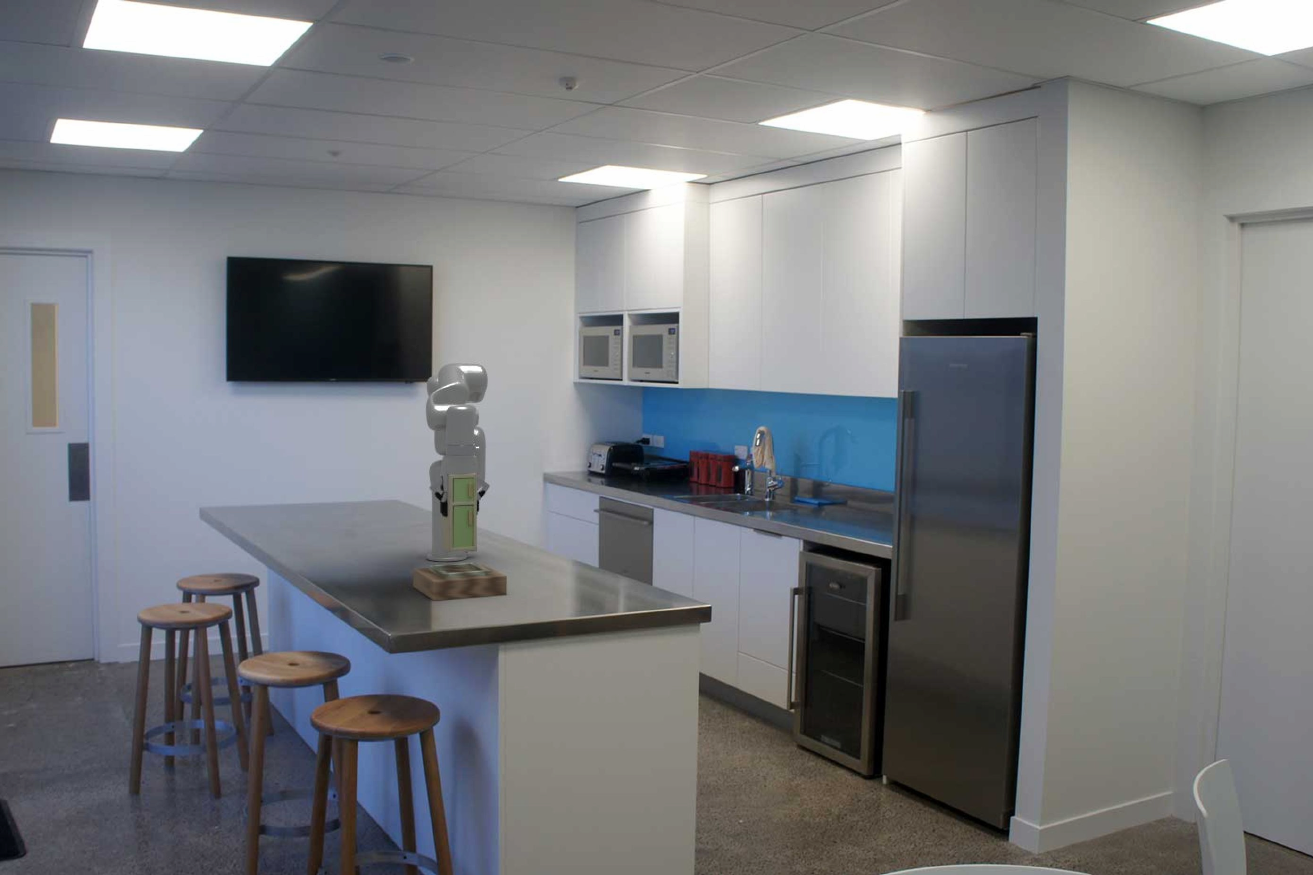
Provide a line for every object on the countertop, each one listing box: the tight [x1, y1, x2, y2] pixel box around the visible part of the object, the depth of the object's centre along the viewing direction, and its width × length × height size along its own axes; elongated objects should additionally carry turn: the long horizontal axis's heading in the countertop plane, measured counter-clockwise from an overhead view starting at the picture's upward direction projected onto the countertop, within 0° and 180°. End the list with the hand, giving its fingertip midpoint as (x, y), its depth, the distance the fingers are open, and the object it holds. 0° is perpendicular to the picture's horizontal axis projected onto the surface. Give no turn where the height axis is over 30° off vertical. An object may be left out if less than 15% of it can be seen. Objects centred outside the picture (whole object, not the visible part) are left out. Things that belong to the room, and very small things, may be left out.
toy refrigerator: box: [442, 474, 478, 552], centre depth 305 cm, size 8×7×21 cm
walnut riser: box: [412, 562, 508, 602], centre depth 306 cm, size 20×20×6 cm
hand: (459, 515), depth 305 cm, fingers closed on toy refrigerator, 7 cm apart
